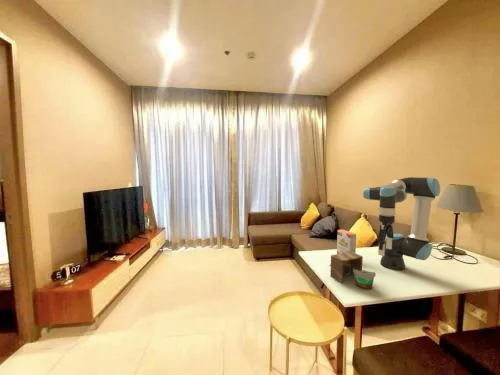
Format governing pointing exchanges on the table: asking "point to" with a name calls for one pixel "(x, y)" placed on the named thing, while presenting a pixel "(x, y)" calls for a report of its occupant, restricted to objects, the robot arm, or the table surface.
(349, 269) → the walnut shelf
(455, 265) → the table surface
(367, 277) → the food container
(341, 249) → the cracker box
